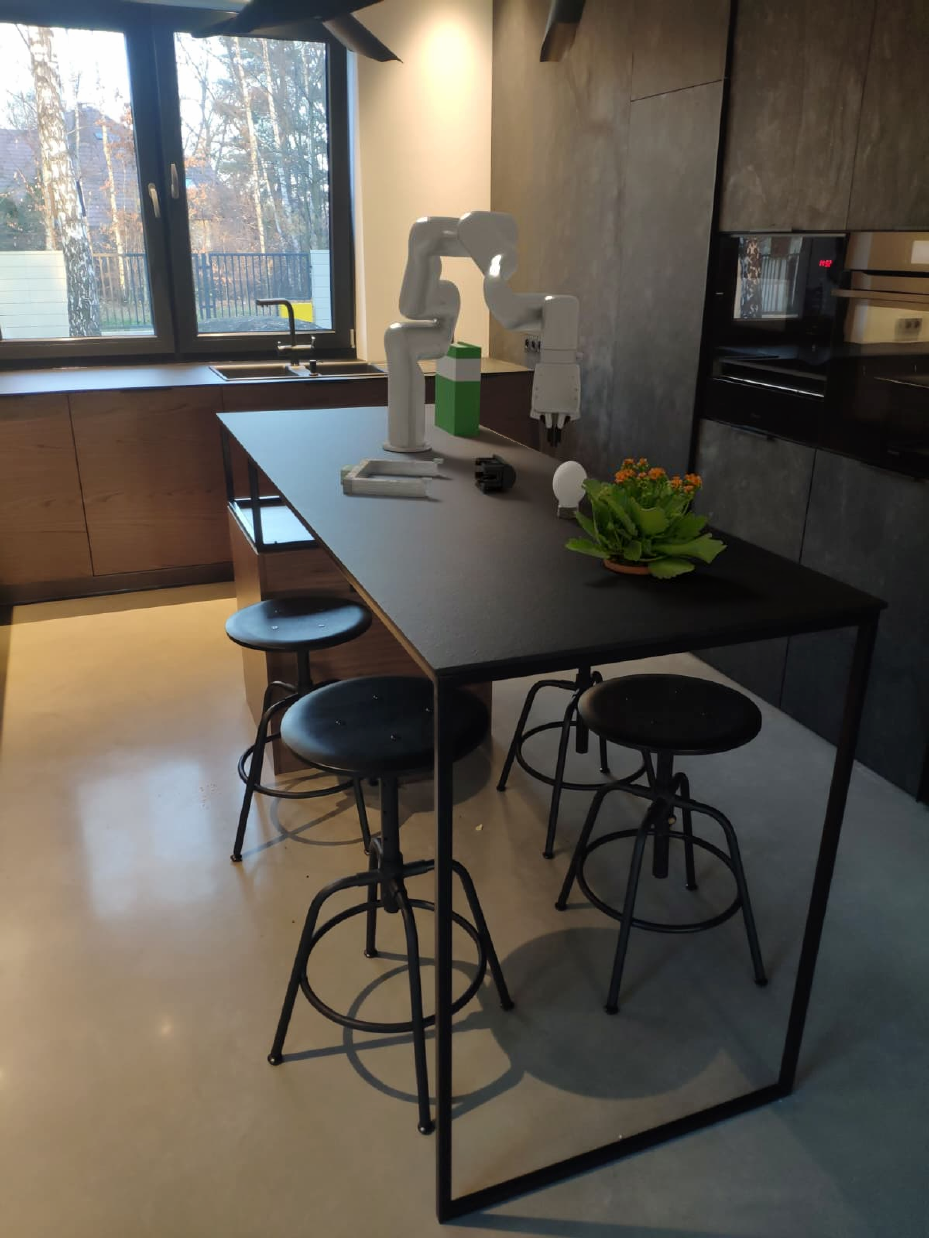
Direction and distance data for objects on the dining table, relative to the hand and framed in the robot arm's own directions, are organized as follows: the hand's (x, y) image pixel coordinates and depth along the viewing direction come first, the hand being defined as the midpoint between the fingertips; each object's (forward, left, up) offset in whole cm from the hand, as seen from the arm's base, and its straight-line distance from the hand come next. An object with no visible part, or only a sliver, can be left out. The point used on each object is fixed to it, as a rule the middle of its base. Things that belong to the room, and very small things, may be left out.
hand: (553, 445), depth 202 cm
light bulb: (+20, +4, -10) cm, 22 cm away
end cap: (0, -12, -10) cm, 16 cm away
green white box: (-71, -28, -10) cm, 77 cm away
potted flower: (+50, +14, -10) cm, 53 cm away
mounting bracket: (0, -36, -10) cm, 37 cm away
